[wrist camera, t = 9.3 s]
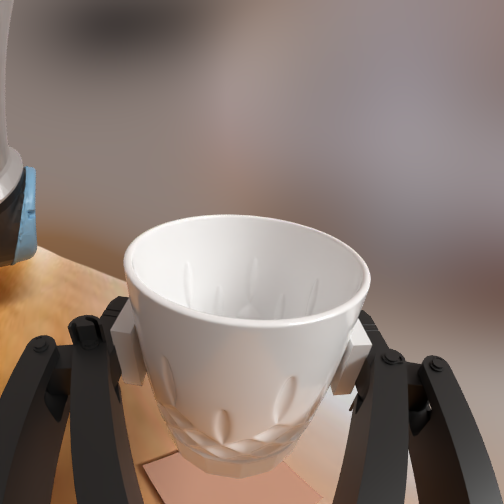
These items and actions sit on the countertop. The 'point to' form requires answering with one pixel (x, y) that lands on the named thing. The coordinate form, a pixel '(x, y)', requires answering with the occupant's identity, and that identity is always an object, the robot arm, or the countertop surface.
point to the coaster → (226, 485)
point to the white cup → (241, 332)
